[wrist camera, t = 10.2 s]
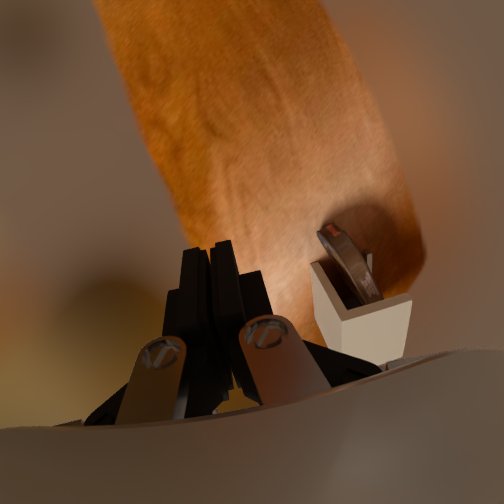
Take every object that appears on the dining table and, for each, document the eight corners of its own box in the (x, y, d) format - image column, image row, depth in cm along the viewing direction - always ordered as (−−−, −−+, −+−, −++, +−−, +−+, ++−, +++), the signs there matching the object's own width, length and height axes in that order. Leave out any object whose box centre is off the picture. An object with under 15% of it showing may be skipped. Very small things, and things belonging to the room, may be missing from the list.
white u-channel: (309, 263, 44) (341, 321, 33) (368, 249, 44) (412, 299, 33) (314, 317, 49) (341, 377, 38) (367, 303, 49) (402, 356, 38)
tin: (308, 222, 41) (330, 253, 34) (328, 209, 41) (354, 237, 33) (352, 295, 48) (374, 330, 41) (369, 284, 47) (393, 318, 40)
